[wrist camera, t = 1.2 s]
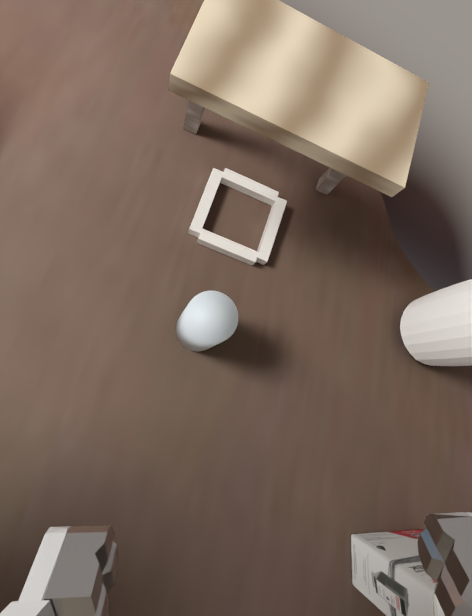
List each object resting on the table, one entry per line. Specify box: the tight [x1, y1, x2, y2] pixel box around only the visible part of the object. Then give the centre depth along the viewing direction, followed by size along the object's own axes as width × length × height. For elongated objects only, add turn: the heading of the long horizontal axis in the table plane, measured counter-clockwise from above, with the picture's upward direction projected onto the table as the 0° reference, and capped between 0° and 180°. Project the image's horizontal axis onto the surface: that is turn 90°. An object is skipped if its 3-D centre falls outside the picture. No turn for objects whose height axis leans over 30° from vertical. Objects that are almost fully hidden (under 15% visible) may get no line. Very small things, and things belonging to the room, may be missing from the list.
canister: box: [176, 291, 238, 352], centre depth 36 cm, size 4×4×8 cm
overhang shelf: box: [168, 0, 429, 197], centre depth 36 cm, size 18×10×16 cm, turn 71°
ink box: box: [351, 529, 445, 616], centre depth 34 cm, size 9×5×12 cm, turn 88°
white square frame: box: [188, 168, 287, 265], centre depth 42 cm, size 9×9×1 cm
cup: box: [400, 279, 472, 366], centre depth 39 cm, size 8×8×14 cm
